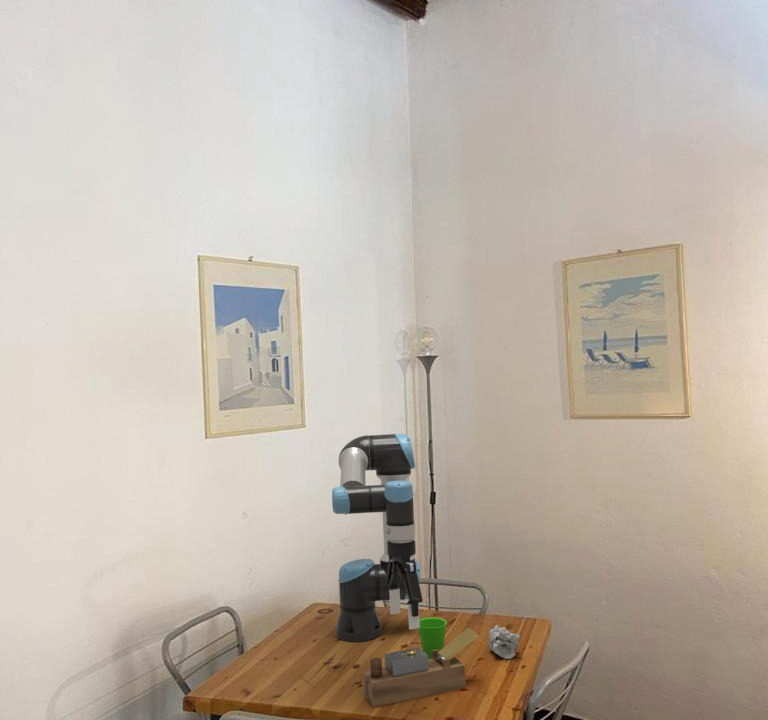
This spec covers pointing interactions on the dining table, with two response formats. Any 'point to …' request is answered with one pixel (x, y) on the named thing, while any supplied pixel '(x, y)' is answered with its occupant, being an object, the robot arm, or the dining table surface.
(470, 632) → the lever
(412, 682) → the plane body
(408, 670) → the lever cap
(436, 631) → the cup
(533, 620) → the dining table surface
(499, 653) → the figurine
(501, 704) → the dining table surface
